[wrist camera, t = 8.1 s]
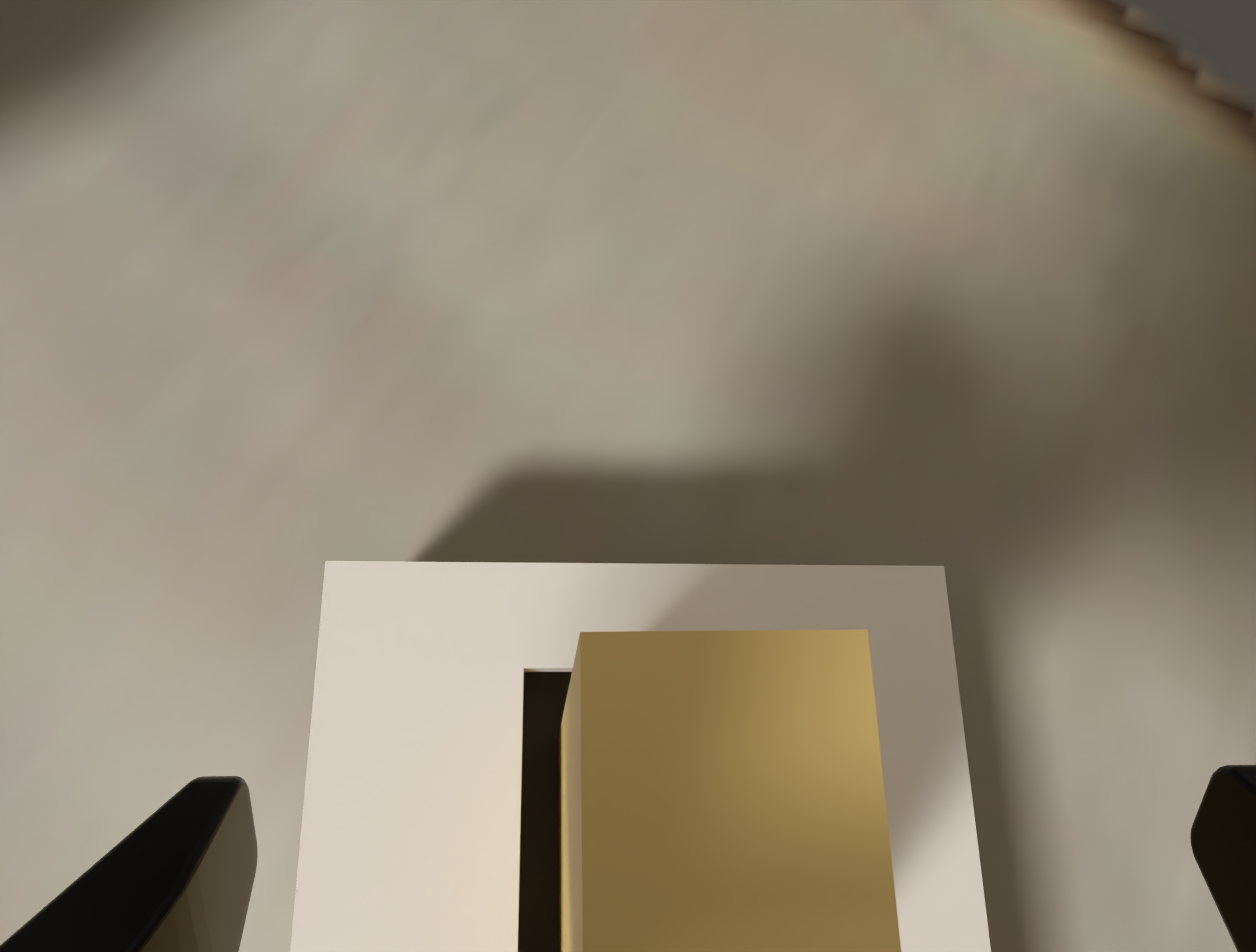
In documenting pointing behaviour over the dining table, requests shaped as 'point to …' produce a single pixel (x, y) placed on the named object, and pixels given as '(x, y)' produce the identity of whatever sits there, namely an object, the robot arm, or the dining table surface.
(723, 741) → the block
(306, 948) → the white slotted base
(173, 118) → the dining table surface
